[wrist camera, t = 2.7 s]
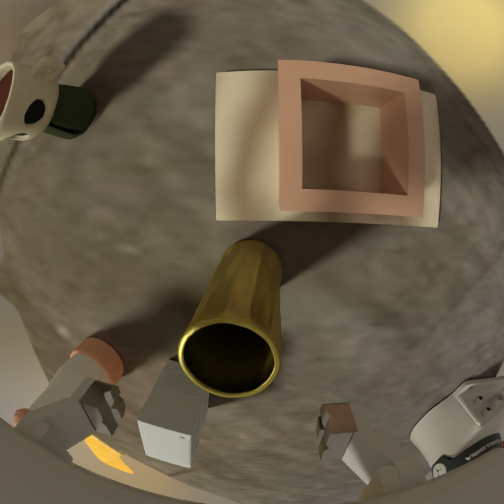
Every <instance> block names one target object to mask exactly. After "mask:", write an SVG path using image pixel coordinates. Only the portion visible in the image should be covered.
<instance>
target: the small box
mask: <svg viewBox="0 0 504 504" xmlns="http://www.w3.org/2000/svg"><path fill="white" fill-rule="evenodd" d="M208 402H209V392H207V391H206V390H204V389H202V388H200V387H199V386H197V385H196V384H195V383H194V382H192V381H191V380H190V379H189V377H188V376H187V375H186V374H185V372H184V371H183V370H182V368H181V366H180V363H179V362H177V361H173V360H168V361H167V363H166V365H165V367H164V369H163V371H162V372H161V374H160V376H159V378H158V380H157V382H156V384H155V386H154V387H153V389H152V391H151V393H150V395H149V397H148V399H147V401H146V403H145V405H144V407H143V409H142V410H141V412H140V414H139V416H138V418H137V422H138V426H139V430H140V434H141V438H142V442H143V446H144V449H145V453H146V455H148V456H150V457H153V458H156V459H159V460H163V461H166V462H169V463H173V464H176V465H180V466H183V467H187V468H192V465H193V461H194V458H195V454H196V451H197V447H198V443H199V440H200V436H201V432H202V429H203V425H204V422H205V418H206V415H207V411H208Z"/></svg>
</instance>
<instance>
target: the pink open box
mask: <svg viewBox="0 0 504 504" xmlns="http://www.w3.org/2000/svg"><path fill="white" fill-rule="evenodd" d="M277 92H278V205H279V210H280V211H312V212H340V213H362V214H380V215H396V216H410V217H423V209H424V190H425V143H424V125H423V113H422V103H421V95H420V87H419V81H418V80H417V79H414V78H410V77H406V76H402V75H398V74H394V73H389V72H385V71H380V70H375V69H369V68H364V67H358V66H351V65H344V64H336V63H326V62H315V61H299V60H278V77H277ZM301 100H313V101H327V102H337V103H347V104H355V105H362V106H369V107H376V108H380V122H381V149H382V180H381V192H379V191H366V190H351V189H334V188H311V187H302V110H301Z"/></svg>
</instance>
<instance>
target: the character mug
mask: <svg viewBox="0 0 504 504" xmlns="http://www.w3.org/2000/svg"><path fill="white" fill-rule="evenodd" d="M43 68H48V69H50V70H52V71H51V72H49V71H46V70H43ZM64 68H65V65H64V63H62V62H60V61H58V60H55V59H53V58H50V57H45V56H44V57H42V58H41V59H40V60H39V61H38V62H37V63H36V64H35V65H34V66H30V65H27V64H24V63H20V62H17V61H12V60H7V61H6V62H4V63H2V64H1V65H0V141H2V140H4V139H15V140H28V139H32V138H34V137H36V136H38V135H40V134H41V133H42V132H45V133H48V134H51V135H54V136H57V137H61V138H65V139H73V138H77V137H78V135H74V134H71V133H72V132H74V131H76V130H81V131H84V130H85V129H86V128H87V126H88V124H89V123H90V121H91V119H92V115H93V111H94V107H95V106H94V102H93V97H92V95H91V93H90V92H89V90H88V89H84V88H80V87H75V86H69V85H61V84H59V83H58V81H57V77H58V76H59V75H60V74H61V73H62V72H63V70H64Z"/></svg>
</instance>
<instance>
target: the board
mask: <svg viewBox="0 0 504 504" xmlns="http://www.w3.org/2000/svg"><path fill="white" fill-rule="evenodd" d="M277 77H278V70H259V71H235V72H221V73H216V117H215V172H216V220H256V221H313V222H345V223H369V224H389V225H407V226H423V227H438V219H439V206H440V185H441V151H440V131H439V118H438V108H437V100H436V95H435V94H432V93H429V92H425V91H422V90H420V95H421V103H422V113H423V125H424V143H425V190H424V209H423V217H410V216H396V215H380V214H362V213H340V212H312V211H280V210H279V205H278V92H277ZM301 110H302V187H311V188H334V189H351V190H366V191H379V192H381V180H382V149H381V122H380V108H376V107H369V106H362V105H355V104H347V103H337V102H327V101H313V100H301Z"/></svg>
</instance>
